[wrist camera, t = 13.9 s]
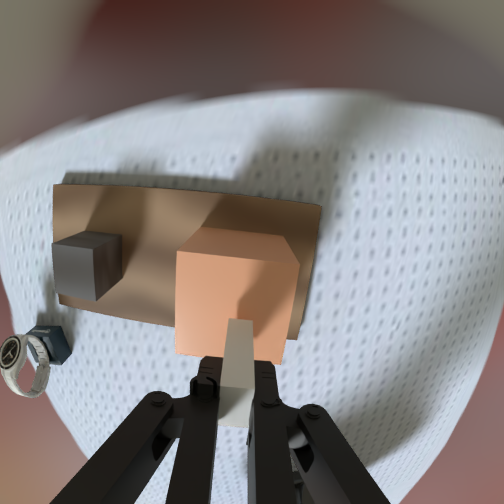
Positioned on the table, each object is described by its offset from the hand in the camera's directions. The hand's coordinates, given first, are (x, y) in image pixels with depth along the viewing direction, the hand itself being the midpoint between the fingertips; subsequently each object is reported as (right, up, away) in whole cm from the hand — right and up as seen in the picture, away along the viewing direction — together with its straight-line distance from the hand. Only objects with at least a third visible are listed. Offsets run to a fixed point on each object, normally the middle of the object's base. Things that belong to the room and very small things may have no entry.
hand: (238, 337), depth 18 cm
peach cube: (-1, +4, +9) cm, 10 cm away
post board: (-8, +5, +10) cm, 14 cm away
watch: (-27, -7, +13) cm, 31 cm away
